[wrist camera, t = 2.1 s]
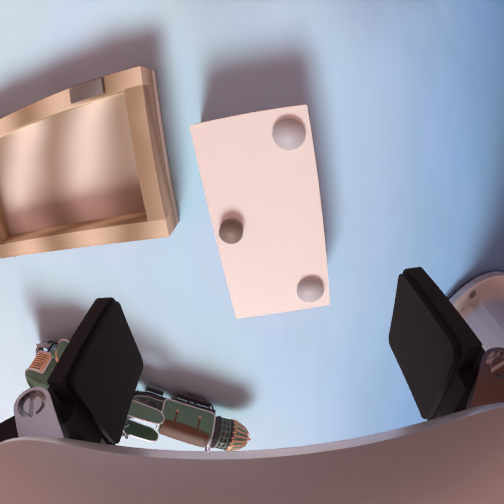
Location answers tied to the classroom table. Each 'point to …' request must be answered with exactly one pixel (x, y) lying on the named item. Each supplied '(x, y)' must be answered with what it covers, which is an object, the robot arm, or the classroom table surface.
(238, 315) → the pale pink knobbed block
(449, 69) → the classroom table surface
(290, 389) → the classroom table surface
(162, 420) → the hoverbike
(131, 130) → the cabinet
